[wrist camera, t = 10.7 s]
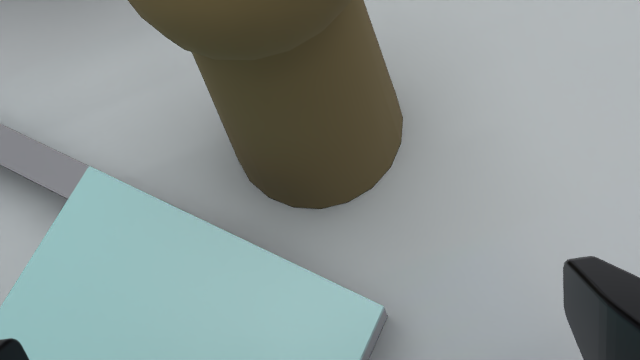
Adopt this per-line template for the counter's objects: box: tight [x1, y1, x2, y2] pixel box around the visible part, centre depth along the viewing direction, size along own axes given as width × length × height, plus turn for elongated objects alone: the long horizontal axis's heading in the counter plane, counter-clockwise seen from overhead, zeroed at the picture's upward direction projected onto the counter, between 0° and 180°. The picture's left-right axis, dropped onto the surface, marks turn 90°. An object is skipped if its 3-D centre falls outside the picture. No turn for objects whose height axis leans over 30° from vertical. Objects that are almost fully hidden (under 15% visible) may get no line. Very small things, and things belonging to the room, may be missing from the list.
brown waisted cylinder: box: [128, 0, 403, 209], centre depth 14 cm, size 6×6×11 cm
